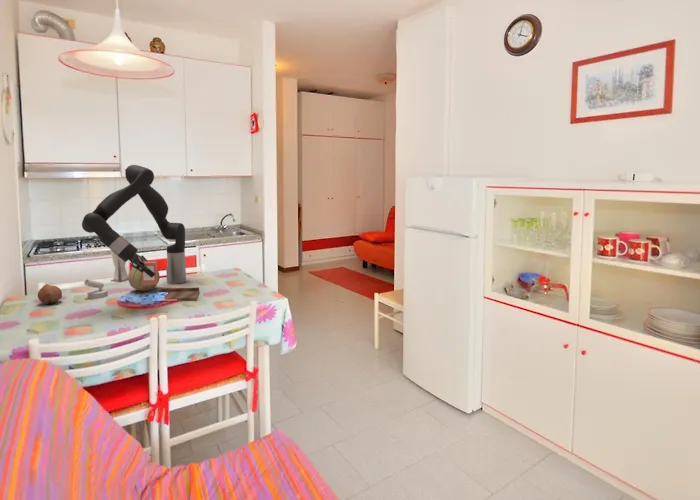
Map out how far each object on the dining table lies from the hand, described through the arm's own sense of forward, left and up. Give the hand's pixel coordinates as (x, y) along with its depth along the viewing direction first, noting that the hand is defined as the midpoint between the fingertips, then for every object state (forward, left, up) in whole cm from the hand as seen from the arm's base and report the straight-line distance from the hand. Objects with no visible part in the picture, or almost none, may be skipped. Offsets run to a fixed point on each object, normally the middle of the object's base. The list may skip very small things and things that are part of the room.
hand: (154, 274), depth 201 cm
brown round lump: (-50, -12, -16) cm, 54 cm away
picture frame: (-2, -1, -4) cm, 5 cm away
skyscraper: (-54, +33, -16) cm, 65 cm away
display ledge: (-3, +17, -16) cm, 23 cm away
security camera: (-40, +4, -16) cm, 43 cm away
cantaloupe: (-26, +21, -16) cm, 37 cm away
